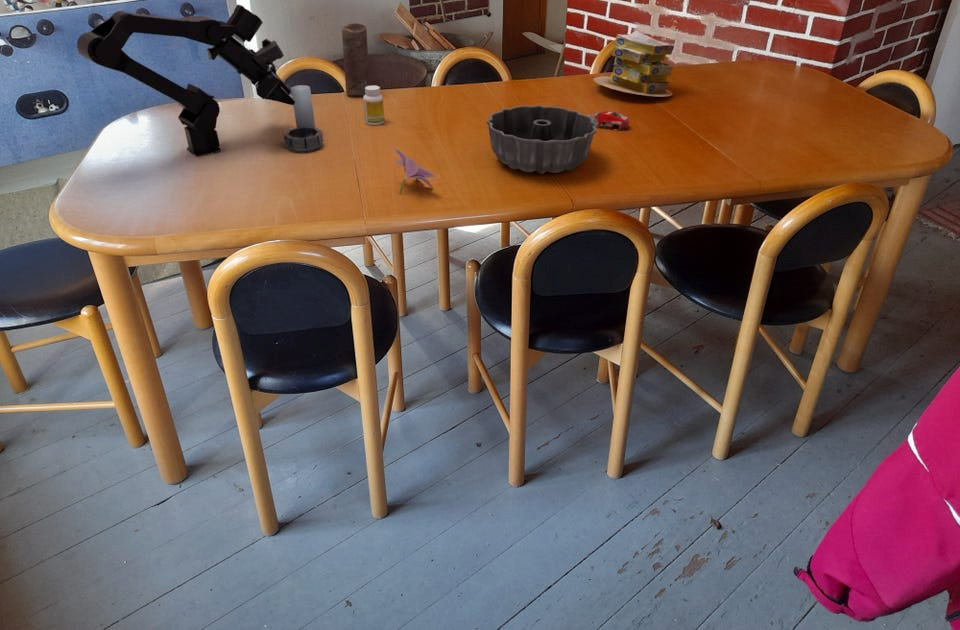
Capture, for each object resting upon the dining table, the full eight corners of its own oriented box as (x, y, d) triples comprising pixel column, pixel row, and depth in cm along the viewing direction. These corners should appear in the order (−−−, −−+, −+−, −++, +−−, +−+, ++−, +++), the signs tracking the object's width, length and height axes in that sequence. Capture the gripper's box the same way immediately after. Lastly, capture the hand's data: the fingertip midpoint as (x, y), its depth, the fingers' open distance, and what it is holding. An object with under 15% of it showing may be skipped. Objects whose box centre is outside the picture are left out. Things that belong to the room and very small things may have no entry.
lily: (436, 205, 153) (449, 162, 151) (386, 190, 148) (398, 146, 146) (421, 200, 163) (433, 160, 162) (374, 186, 159) (385, 144, 157)
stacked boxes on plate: (637, 77, 233) (644, 24, 224) (689, 97, 215) (699, 40, 206) (577, 87, 223) (582, 32, 214) (627, 109, 205) (634, 50, 196)
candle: (373, 91, 217) (368, 23, 205) (368, 99, 211) (362, 29, 199) (349, 90, 217) (343, 22, 206) (343, 97, 211) (336, 28, 200)
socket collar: (297, 155, 173) (295, 141, 171) (280, 145, 178) (278, 131, 176) (329, 147, 178) (327, 133, 176) (311, 137, 183) (309, 124, 181)
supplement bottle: (361, 121, 194) (358, 86, 188) (377, 117, 197) (375, 83, 191) (371, 126, 190) (369, 91, 185) (388, 122, 193) (386, 88, 188)
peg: (303, 137, 183) (296, 91, 176) (294, 132, 186) (287, 87, 179) (319, 133, 186) (313, 88, 179) (310, 129, 189) (304, 84, 182)
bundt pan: (563, 137, 186) (566, 99, 180) (613, 174, 166) (618, 133, 160) (471, 149, 178) (471, 110, 172) (511, 189, 158) (513, 147, 152)
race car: (578, 126, 193) (579, 112, 191) (583, 120, 197) (584, 106, 195) (625, 133, 189) (627, 118, 187) (629, 126, 193) (631, 112, 191)
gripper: (262, 40, 162) (316, 84, 171) (256, 23, 176) (306, 64, 185) (234, 77, 164) (288, 119, 173) (230, 57, 178) (281, 96, 188)
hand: (292, 98), depth 180 cm, fingers open, 9 cm apart
